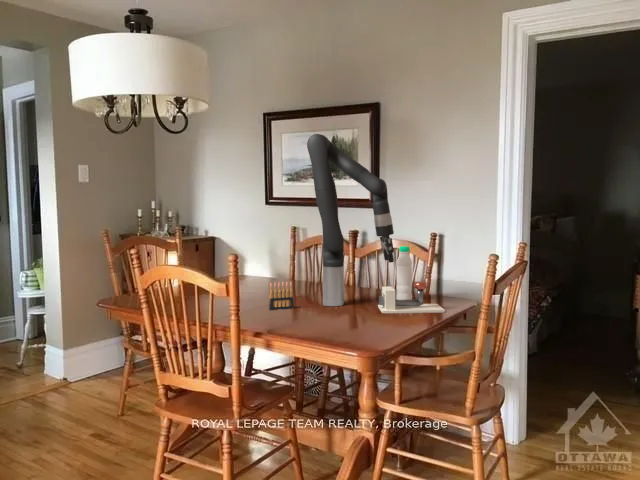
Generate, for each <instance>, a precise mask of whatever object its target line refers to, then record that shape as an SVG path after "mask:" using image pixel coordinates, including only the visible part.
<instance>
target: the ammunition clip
mask: <svg viewBox="0 0 640 480" xmlns="http://www.w3.org/2000/svg"><path fill="white" fill-rule="evenodd" d="M273 283H274V284H273ZM273 283H272V281H271V282H270V283H269V294H268V295H269V298H268V310H269V311H279V310H278V309H282V310H292V308H295V305H294V289H293V281H292V280H290V281H286V282H284V281H282V282H280V281H278V282H276V281H274V282H273Z"/></svg>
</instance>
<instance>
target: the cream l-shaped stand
mask: <svg viewBox="0 0 640 480" xmlns="http://www.w3.org/2000/svg"><path fill="white" fill-rule="evenodd" d="M381 296H383V300H385V307H383V306H382V305H379V304H377V307H378V309H379V311H380V312H381V313H382V314H420V313H421V314H428V313H429V314H430V313H432V314H433V313H446V310H445V309H444V308H443V307H442V306H440V305H439V304H438V303H423V305H421V306H395V300H396V289H394V287H393V286H381Z"/></svg>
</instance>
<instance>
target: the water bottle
mask: <svg viewBox="0 0 640 480" xmlns="http://www.w3.org/2000/svg"><path fill="white" fill-rule="evenodd" d="M398 250H399V251H398V252H399V256H398V258H397V260H396V273H395V274H396V289H395V291H396V293H395V300H413V299H412V298H413V295H412V290H413V286H412V282H413V269H412V265H413V260H412V259H411V256H410V254H409V253H410V250H411V249H410V246H407V245H402V246H399V248H398Z"/></svg>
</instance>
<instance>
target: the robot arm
mask: <svg viewBox="0 0 640 480" xmlns="http://www.w3.org/2000/svg"><path fill="white" fill-rule="evenodd" d="M306 147H307V152H308V154H309V159H310V162H311V168H312V178H313V184H314V185H313V186H314V194H315V200H316V204H317V209H318V212H319V215H320V219H321V226H322V227H321V228H322V306H324V307H325V306H328V307H338V306H339V307H340V306H343V305H344V304H345V291H344V290H345V285H344V284H345V283H344V282H345V280H344V279H345V275H344V273H345V272H344V271H345V266H344V265H345V260H344V259H345V255H344V250H345V247H344V246H345V245H344V244H345V243H344V242H345V239H344V235H343V233H342V230H341V225H340V221H339V202H338V195H337V193H338V192H337V187H336V183H335V179H334V176H333V173H332V171H331V168H330V164H329V162H331V163H332V164H333V165H334V166H336V167H338V168H339V169H340V170H341V171H342V172H343V173H344V174H345V175H347V176H348V177H350V178H351V179H352V180H353V181H355V182H357V184H360V185H361V186H362V187H364V188H365V189H366V191H368V192H369V193H370V194H371V197H372V209H373V210H372V211H373V220H374V222H373V223H374V228H375V234H376V237H379V239H380V248H381V251H382V252H383V259H384V261H388V263H393V262H395V259H394V252H395V249H394V243H393V239H392V238H391V237H390V236H392V235H394V234H395V231H394V226H393V218H392V216H391V209H390V204H389V200H388V187H387V183H386V181H385V180H384V179H382V178H379V177H377V176H376V175H375V174H373V173H372V172H370V170H369V169H367V168H366V167H365V166H363V165H362V164H361V163H360V162H357V160H354V159H353V158H351V157H350V156H349V155H347V154H345V153H344V152H343V151H341V149H339V148H338V147H336V146H335V145H334V143H332V141H330V140H329V138H328V137H327V136H326V135H324V134H320V133H314V134H312V135H310V136H309V138H308V139H307V142H306Z"/></svg>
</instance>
